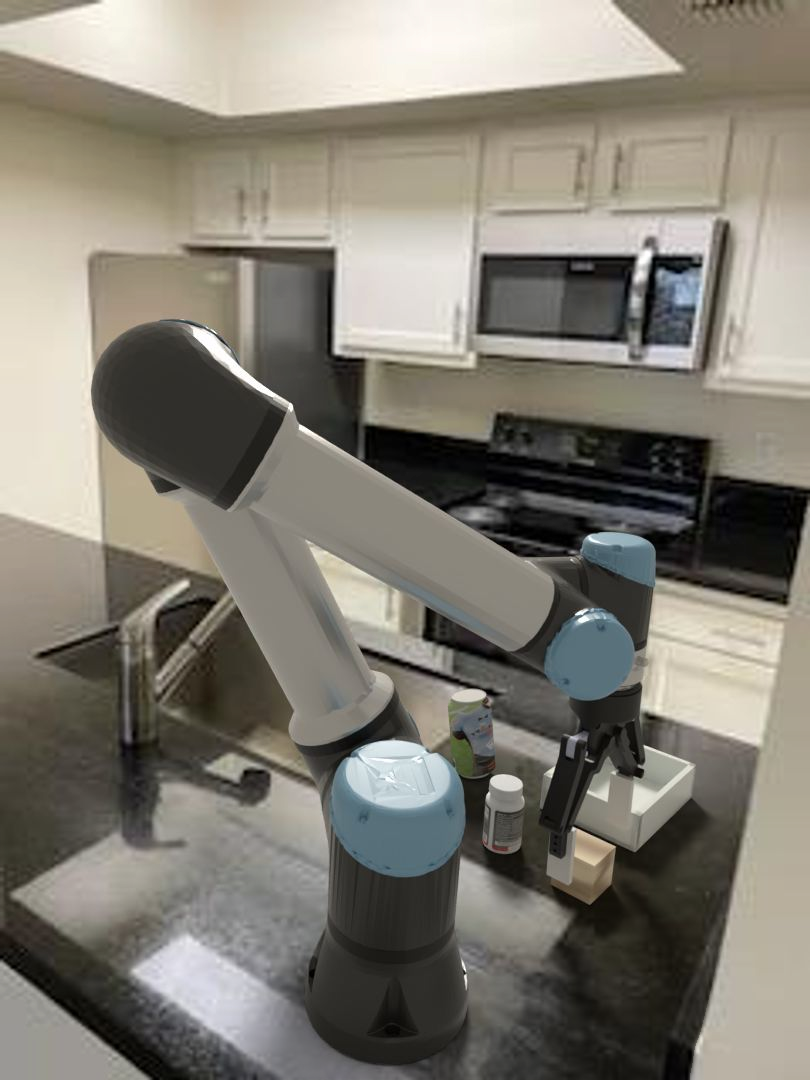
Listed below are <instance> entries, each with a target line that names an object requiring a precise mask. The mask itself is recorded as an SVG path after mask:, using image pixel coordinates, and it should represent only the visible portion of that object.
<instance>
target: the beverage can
mask: <svg viewBox="0 0 810 1080" xmlns="http://www.w3.org/2000/svg"><path fill="white" fill-rule="evenodd" d="M450 697H451V698H450V700H449V702H448V704H447V711H448V712H447V713H448V725H449V734H450V735H449V736H450V747H451V760H452V761H451V762H452V766H453V767H454V769H455V770H456V772H457V773H458V775H460V776H461V777H463V778H465V779H474V780H475V779H481V778H485V777H486V776H488V775H489V774H490V773H492V772H493V771H494V770H495V769H496V753H495V741H494V740H495V739H494V738H495V737H494V728H493V727H494V725H493V713H492V711H493V710H492V703H491V700H490V699H489V697H488V696H487V693H486V691H484V690H482V689H478V688H465V689H463V688H462V689H459V690H456V691H454V692H453V693H451V696H450Z"/></svg>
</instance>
